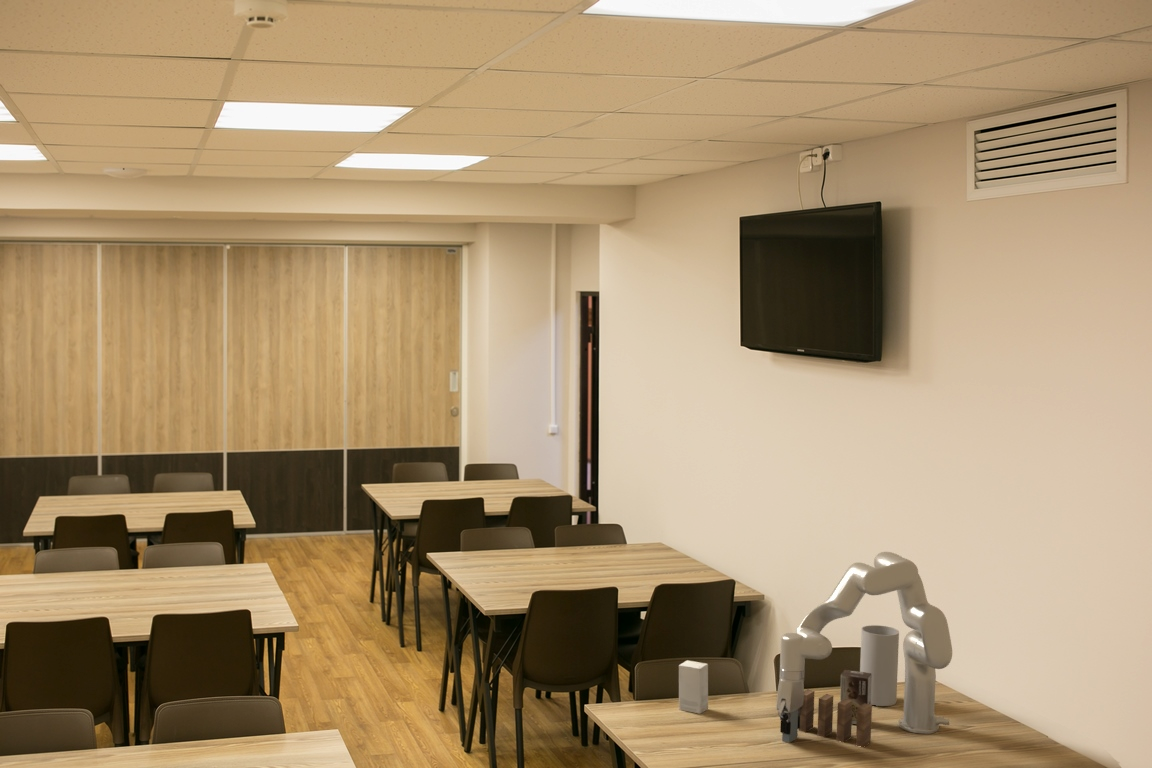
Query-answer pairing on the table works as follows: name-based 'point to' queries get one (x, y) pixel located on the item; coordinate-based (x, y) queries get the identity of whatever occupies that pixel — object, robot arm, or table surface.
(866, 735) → the domino
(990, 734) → the table surface
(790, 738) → the tile
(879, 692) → the cylinder vase
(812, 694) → the domino
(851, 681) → the coffee box
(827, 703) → the domino
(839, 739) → the domino
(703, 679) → the skincare box
